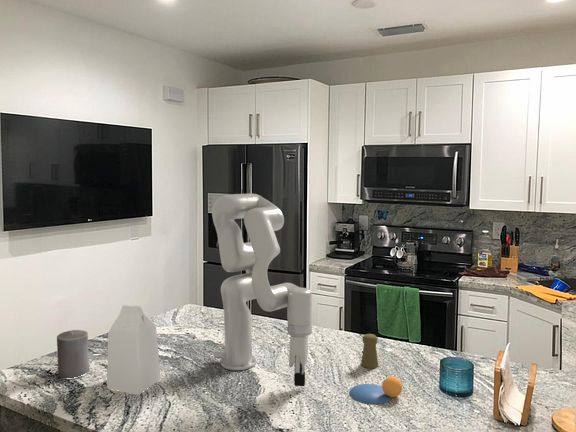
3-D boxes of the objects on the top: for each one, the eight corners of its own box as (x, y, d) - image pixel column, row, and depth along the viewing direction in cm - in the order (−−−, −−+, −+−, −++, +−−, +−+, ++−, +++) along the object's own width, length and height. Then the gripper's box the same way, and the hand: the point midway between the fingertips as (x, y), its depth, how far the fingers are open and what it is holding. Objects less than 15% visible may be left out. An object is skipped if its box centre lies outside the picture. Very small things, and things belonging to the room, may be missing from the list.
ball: (407, 392, 146) (392, 404, 147) (405, 383, 151) (391, 395, 153) (392, 377, 146) (377, 389, 147) (392, 369, 152) (377, 381, 153)
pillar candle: (53, 374, 166) (51, 331, 165) (82, 365, 174) (80, 324, 172) (65, 382, 160) (63, 338, 158) (94, 373, 167) (93, 330, 165)
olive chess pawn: (378, 369, 169) (378, 338, 168) (360, 368, 170) (360, 337, 169) (378, 362, 175) (379, 332, 174) (361, 361, 176) (361, 331, 175)
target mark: (348, 402, 146) (348, 401, 146) (349, 383, 159) (349, 382, 158) (393, 405, 144) (393, 404, 144) (391, 385, 157) (391, 385, 157)
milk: (160, 379, 162) (158, 302, 159) (139, 395, 151) (136, 312, 148) (130, 374, 166) (127, 299, 163) (107, 389, 155) (103, 309, 152)
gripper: (291, 320, 160) (291, 374, 162) (283, 335, 146) (284, 395, 147) (314, 321, 159) (313, 375, 161) (309, 337, 144) (309, 396, 146)
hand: (299, 384), depth 154 cm, fingers closed
